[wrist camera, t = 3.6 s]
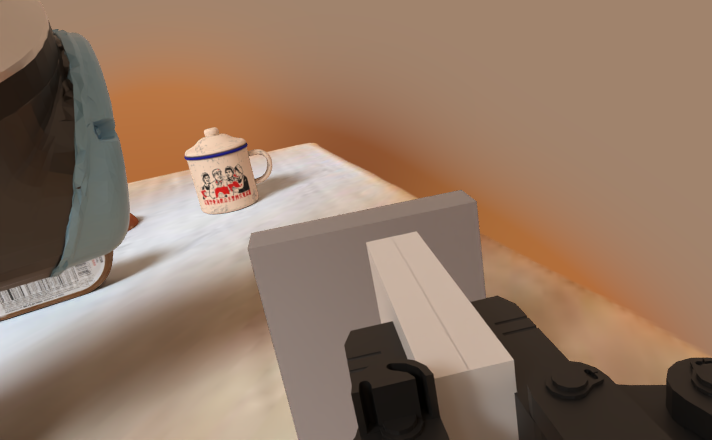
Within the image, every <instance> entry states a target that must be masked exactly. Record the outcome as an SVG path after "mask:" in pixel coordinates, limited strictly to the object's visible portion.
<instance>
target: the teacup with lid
mask: <svg viewBox="0 0 712 440" xmlns="http://www.w3.org/2000/svg"><path fill="white" fill-rule="evenodd" d="M204 133H205V136H206V137H204V138H202V139H200V140H199V141H198V142H197V143H196V144H195V145H194V146H193V147H192V148H190V149H188V150H187V151H186V152H185V159H186V160H187V161H188V164H189V168H190V172H191V175H192V179H193V182H194V185H195V189H196V192H197V196H198V199H199V202H200V206H201V209H202V211H203V212H204V213H207V214H222V213H228V212H232V211H236V210H239V209H242V208H245V207H247V206H250V205H251V204H253V203H255V202H256V201H257V200H258V197H259V196H258V191H257V187H256V184H258V183H261V182H263V181H265V180H266V179H267V178H268V177H269V175H270V173H271V170H272V160H271V157H270V156H269V154H268V153H267V152H265V151H263V150H251V151H247V143H246V141H245V140H244V139H242V138H234V137H231V136H229V135H226V134H218V133H219V131H218V129H217V128H210V129H206V130H205V131H204ZM257 154H259V155H263V156H265V157H266V159H267V170H266V172H265V174H264V175H263V176H261V177H259V178H256V179H254V175H253V171H252V167H251V163H250V159H249V156H252V155H257Z"/></svg>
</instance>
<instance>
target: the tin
mask: <svg viewBox="0 0 712 440" xmlns="http://www.w3.org/2000/svg"><path fill="white" fill-rule="evenodd" d="M112 261H113V251H111V252H110V253H108V254H106V255H103V256H100V257H98V258H95V259H92V260H90V261H87V262H84V263H82V264H79V265H77V266H74V267H71V268H69V269H66V270H65V271H64V272H63V273H62V274H60V275H58V276H55V277H52V278H45V279H41V280H38V281H35V282H31V283H28V284H25V285H21V286H18V287H15V288H11V289H8V290H5V291H1V292H0V321H1V320H5V319H9V318H12V317H15V316H18V315H21V314H24V313H28V312H31V311H34V310H37V309H40V308H43V307H46V306H50V305H53V304H56V303H59V302H62V301H66V300H69V299H72V298H75V297H78V296H81V295H84V294H87V293H89V292H91V291H93V290H95V289H96V288H97V287H99V286H100V285H101V284H102V283H103V282H104V280H105V279H106V278H107V276H108V274H109V272H110V270H111V267H112Z"/></svg>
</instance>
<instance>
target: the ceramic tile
mask: <svg viewBox="0 0 712 440" xmlns="http://www.w3.org/2000/svg"><path fill="white" fill-rule="evenodd" d="M416 231H417V233H418V234H419V235H420V236H421V238H422V239H423V240H424V242H425V243H426V244H427V246H428V247H429V248H430V250H431V251H432V252H433V254H434V255H435V256H436V258H437V259H438V260H439V262H440V263H441V264H442V266H443V267H444V268H445V270H446V271H447V272H448V274H449V275H450V276H451V277H452V279H453V280H454V281H455V283H456V284H457V285H458V287H459V288H460V289H461V291H462V292H463V293H464V295H465V296H466V297H467V299H468V300H469V301H470V302H472V301H476V300H481V299H485V298H486V293H485V282H484V272H483V262H482V252H481V241H480V231H479V221H478V211H477V201H475V200H474V199H473V198H471V197H470V196H469V195H467V194H466V193H465V192H464V191H462V190H459V191H454V192H449V193H444V194H440V195H435V196H430V197H425V198H420V199H415V200H410V201H405V202H401V203H396V204H391V205H386V206H381V207H376V208H371V209H367V210H362V211H357V212H352V213H347V214H342V215H337V216H333V217H328V218H323V219H318V220H313V221H308V222H304V223H299V224H294V225H289V226H284V227H279V228H274V229H270V230H265V231H260V232H255V233H251V237H250V241H249V245H248V252H249V256H250V260H251V263H252V267H253V271H254V275H255V278H256V282H257V286H258V290H259V293H260V297H261V301H262V305H263V308H264V312H265V316H266V320H267V324H268V327H269V331H270V335H271V339H272V342H273V346H274V350H275V354H276V357H277V361H278V365H279V369H280V372H281V376H282V380H283V384H284V387H285V391H286V395H287V399H288V402H289V406H290V410H291V414H292V417H293V421H294V425H295V429H296V432H297V436H298V440H353V439H354V438H355V436H356V433H357V429H358V424H357V419H356V415H355V410H354V405H353V401H352V396H351V389H352V384H351V379H350V373H349V368H348V363H347V358H346V352H345V347H344V344H345V342H346V340H347V338H348V335H349V333H350V331H352V330H356V329H360V328H365V327H369V326H374V325H378V324H381V320H380V315H379V309H378V304H377V299H376V293H375V288H374V283H373V277H372V272H371V267H370V261H369V256H368V251H367V245H366V242H370V241H374V240H379V239H384V238H388V237H393V236H397V235H402V234H407V233H411V232H416Z"/></svg>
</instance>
